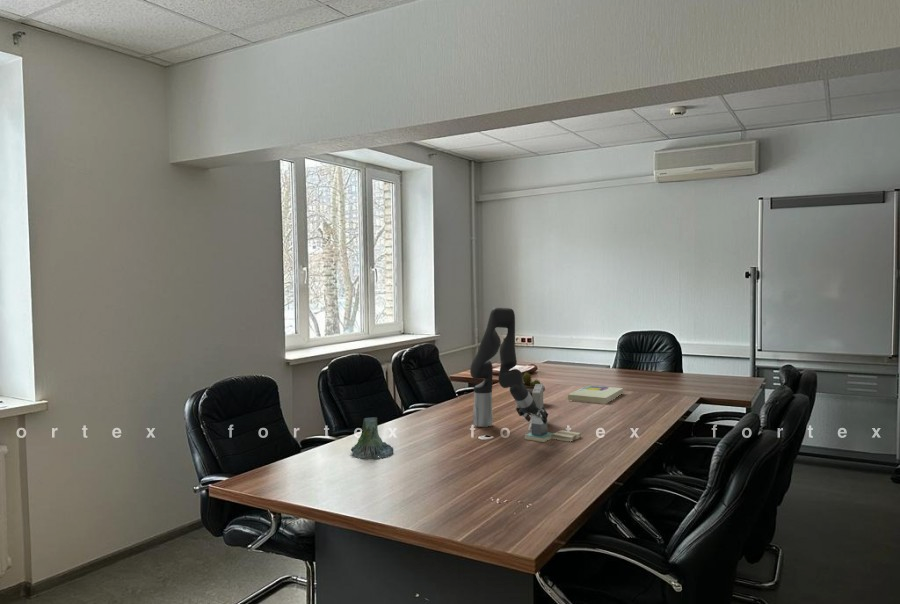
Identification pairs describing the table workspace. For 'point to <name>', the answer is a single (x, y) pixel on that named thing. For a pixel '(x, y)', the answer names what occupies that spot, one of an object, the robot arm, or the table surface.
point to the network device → (537, 397)
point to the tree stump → (371, 442)
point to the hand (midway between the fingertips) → (537, 421)
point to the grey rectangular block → (538, 426)
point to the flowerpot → (530, 382)
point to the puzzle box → (595, 394)
